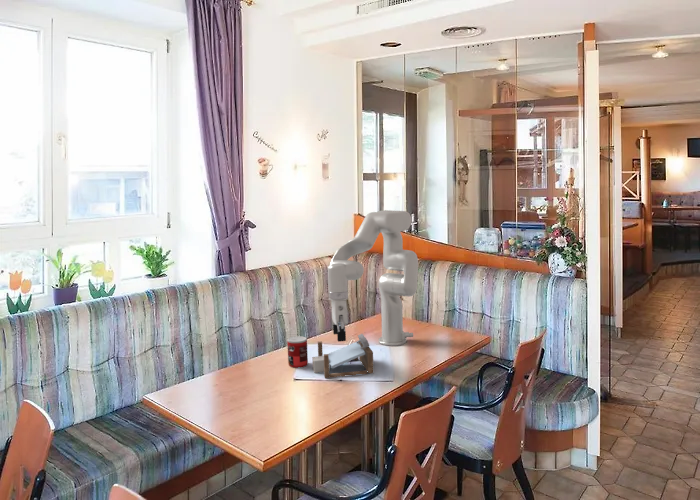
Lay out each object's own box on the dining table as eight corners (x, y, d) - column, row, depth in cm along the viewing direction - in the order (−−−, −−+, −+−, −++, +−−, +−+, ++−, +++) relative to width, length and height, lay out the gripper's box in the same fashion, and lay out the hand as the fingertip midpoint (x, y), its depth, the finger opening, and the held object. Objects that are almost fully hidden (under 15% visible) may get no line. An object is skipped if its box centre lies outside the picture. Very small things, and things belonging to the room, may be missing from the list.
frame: (363, 358, 243) (363, 337, 241) (373, 373, 225) (373, 351, 224) (318, 362, 239) (317, 341, 238) (325, 378, 221) (324, 355, 220)
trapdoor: (364, 340, 239) (361, 332, 239) (372, 351, 226) (368, 342, 225) (326, 356, 237) (323, 348, 236) (332, 368, 224) (328, 359, 223)
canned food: (288, 362, 241) (287, 336, 239) (307, 361, 242) (306, 335, 240) (288, 368, 233) (286, 342, 232) (308, 367, 234) (307, 341, 232)
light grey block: (327, 355, 233) (312, 357, 232) (329, 359, 228) (314, 361, 227) (327, 367, 234) (312, 369, 232) (329, 371, 229) (314, 373, 228)
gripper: (351, 299, 220) (353, 343, 222) (343, 290, 236) (344, 330, 239) (332, 300, 218) (333, 344, 221) (325, 291, 235) (326, 332, 238)
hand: (339, 337), depth 230 cm, fingers open, 9 cm apart
